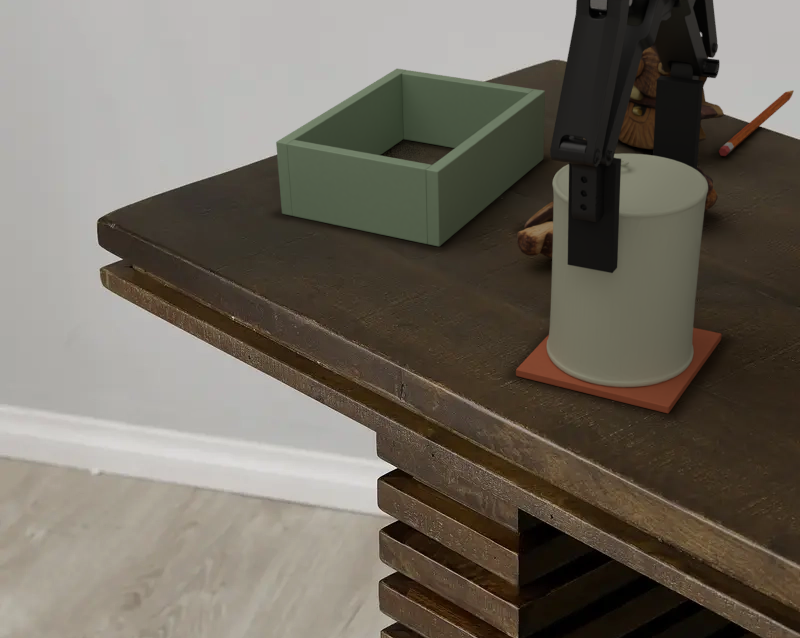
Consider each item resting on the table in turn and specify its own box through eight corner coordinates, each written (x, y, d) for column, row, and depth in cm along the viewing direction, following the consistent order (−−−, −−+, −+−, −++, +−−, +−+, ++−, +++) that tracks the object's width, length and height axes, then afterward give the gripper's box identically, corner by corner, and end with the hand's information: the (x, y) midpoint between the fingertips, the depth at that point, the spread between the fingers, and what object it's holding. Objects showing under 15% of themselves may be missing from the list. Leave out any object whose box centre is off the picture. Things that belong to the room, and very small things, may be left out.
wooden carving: (551, 126, 123) (554, 14, 118) (587, 113, 126) (592, 3, 121) (696, 178, 113) (707, 57, 107) (732, 163, 115) (744, 44, 110)
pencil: (718, 155, 116) (718, 147, 116) (789, 93, 129) (789, 86, 129) (727, 156, 116) (727, 148, 116) (797, 94, 129) (797, 86, 128)
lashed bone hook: (656, 191, 112) (470, 241, 104) (660, 135, 109) (470, 181, 101) (737, 227, 105) (545, 283, 97) (743, 168, 102) (546, 220, 94)
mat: (721, 340, 90) (721, 333, 90) (668, 414, 83) (668, 406, 82) (578, 308, 94) (578, 302, 94) (515, 376, 87) (515, 369, 87)
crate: (543, 159, 117) (545, 90, 114) (439, 247, 103) (438, 171, 100) (398, 134, 123) (396, 68, 120) (281, 214, 109) (275, 141, 106)
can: (653, 307, 93) (666, 137, 87) (719, 373, 85) (738, 192, 79) (525, 329, 91) (528, 157, 85) (580, 399, 83) (589, 215, 77)
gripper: (665, -196, 83) (649, 141, 94) (481, -109, 65) (488, 296, 76) (790, -192, 80) (758, 156, 91) (633, -99, 61) (617, 322, 72)
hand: (635, 220), depth 83 cm, fingers open, 13 cm apart
